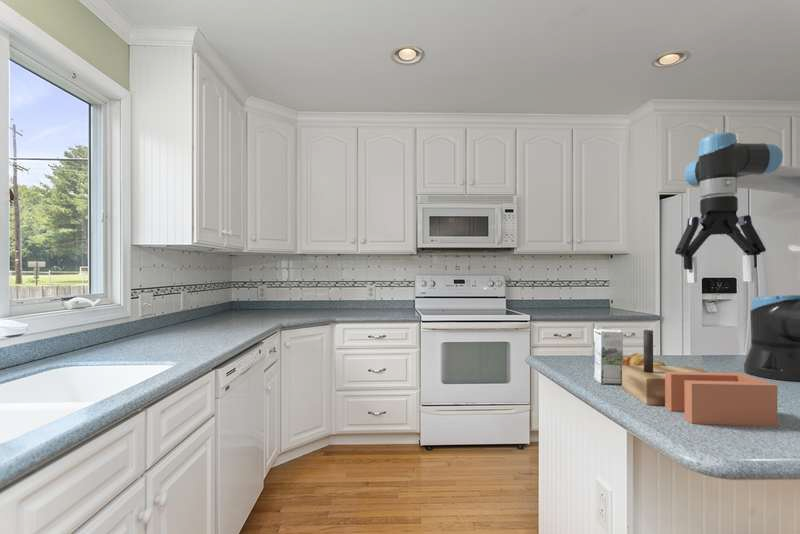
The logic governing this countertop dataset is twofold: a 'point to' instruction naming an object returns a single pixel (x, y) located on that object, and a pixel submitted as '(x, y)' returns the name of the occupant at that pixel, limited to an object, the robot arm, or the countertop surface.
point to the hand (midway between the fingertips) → (720, 282)
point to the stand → (649, 376)
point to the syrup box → (608, 355)
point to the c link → (721, 398)
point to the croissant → (638, 361)
